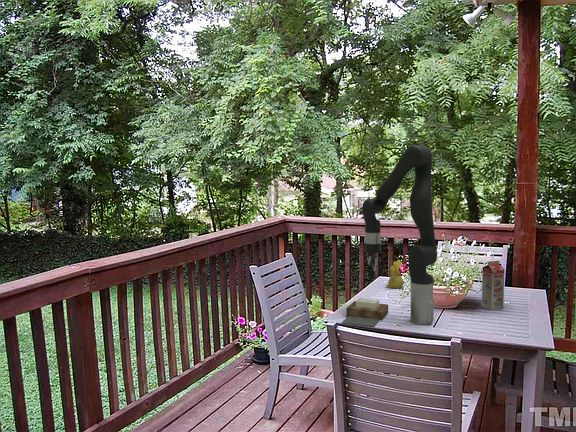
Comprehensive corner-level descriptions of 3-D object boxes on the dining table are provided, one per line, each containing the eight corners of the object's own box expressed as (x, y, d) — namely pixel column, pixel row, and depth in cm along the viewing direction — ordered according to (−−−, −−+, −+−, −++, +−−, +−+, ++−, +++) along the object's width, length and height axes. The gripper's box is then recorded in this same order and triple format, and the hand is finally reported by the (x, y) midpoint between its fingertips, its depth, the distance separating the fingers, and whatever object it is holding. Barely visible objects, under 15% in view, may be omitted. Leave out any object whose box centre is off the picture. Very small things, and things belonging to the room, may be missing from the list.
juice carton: (481, 306, 233) (482, 260, 231) (493, 304, 235) (494, 259, 233) (491, 310, 227) (492, 263, 224) (503, 308, 229) (504, 261, 227)
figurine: (392, 284, 279) (392, 258, 277) (407, 286, 273) (407, 259, 272) (383, 288, 269) (384, 261, 268) (399, 290, 264) (399, 263, 263)
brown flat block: (388, 313, 225) (388, 304, 225) (381, 320, 214) (381, 311, 214) (354, 309, 232) (354, 301, 231) (346, 316, 221) (346, 307, 220)
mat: (379, 320, 214) (379, 319, 214) (373, 327, 206) (373, 326, 206) (348, 317, 220) (348, 315, 220) (341, 323, 211) (341, 322, 211)
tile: (379, 305, 223) (379, 300, 223) (375, 308, 218) (375, 303, 218) (359, 303, 227) (359, 298, 227) (355, 306, 222) (355, 301, 221)
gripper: (377, 244, 220) (376, 282, 222) (384, 240, 232) (383, 276, 234) (360, 243, 223) (360, 281, 225) (368, 239, 235) (368, 275, 237)
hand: (372, 278), depth 229 cm, fingers closed
